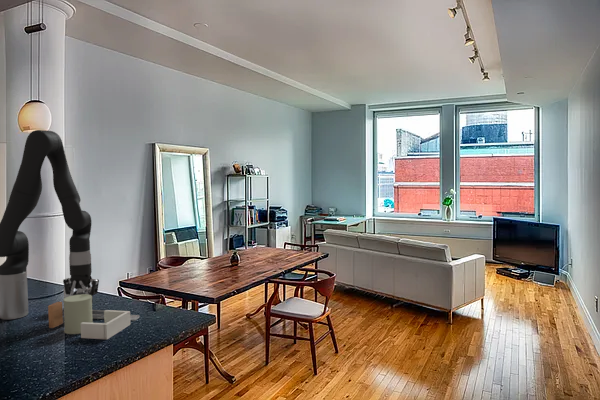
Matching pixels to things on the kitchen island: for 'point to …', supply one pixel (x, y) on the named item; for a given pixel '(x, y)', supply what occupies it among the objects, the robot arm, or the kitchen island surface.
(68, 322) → the can
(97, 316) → the rail
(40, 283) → the kitchen island surface
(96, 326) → the frame
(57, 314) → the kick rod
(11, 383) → the kitchen island surface
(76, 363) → the kitchen island surface
